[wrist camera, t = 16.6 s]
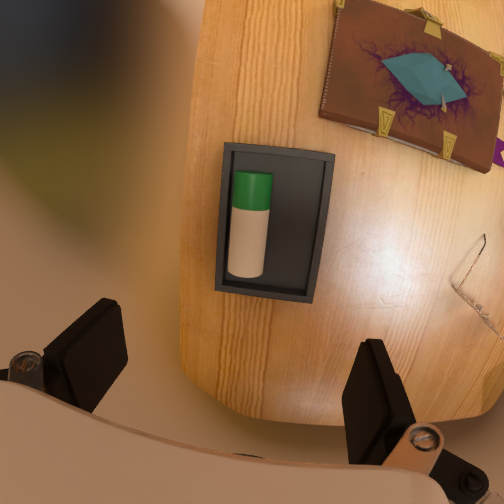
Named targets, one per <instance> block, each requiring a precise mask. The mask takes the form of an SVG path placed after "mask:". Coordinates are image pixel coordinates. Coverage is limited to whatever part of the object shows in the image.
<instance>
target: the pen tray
mask: <svg viewBox="0 0 504 504" xmlns="http://www.w3.org/2000/svg"><path fill="white" fill-rule="evenodd" d="M334 161H335V154H329V153H323V152H316V151H308V150H301V149H293V148H284V147H275V146H265V145H254V144H241V143H227V142H225V143H224V153H223V165H222V178H221V191H220V205H219V221H218V237H217V254H216V273H215V291H221V292H228V293H234V294H241V295H248V296H256V297H263V298H270V299H278V300H286V301H294V302H302V303H310V304H312V301H313V296H314V291H315V286H316V281H317V275H318V270H319V264H320V258H321V252H322V246H323V240H324V234H325V228H326V221H327V214H328V207H329V200H330V193H331V185H332V178H333V170H334ZM236 170H247V171H259V172H266V173H271V174H273V181H272V191H271V200H270V209H269V219H268V229H267V238H266V247H265V256H264V265H263V273H262V274H261V275H260V276H258V277H253V278H244V277H238V276H235V275H233V274H231V273H229V271H228V257H229V243H230V229H231V215H232V203H233V190H234V178H235V171H236Z"/></svg>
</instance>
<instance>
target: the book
mask: <svg viewBox="0 0 504 504" xmlns="http://www.w3.org/2000/svg"><path fill="white" fill-rule="evenodd" d="M333 10H334V16H336V17H335V24H334V30H333V36H332V42H331V48H330V54H329V60H328V66H327V71H326V77H325V82H324V88H323V93H322V98H321V104H320V109H319V117H321V118H325V119H330V120H334V121H338V122H341V123H345V124H344V125H347V124H349V125H347V126H350V127H353V128H355V129H359V130H362V131H366V132H369V133H372V134H371V135H373V136H376V137H385V138H388V139H392V140H395V141H398V142H401V143H404V144H406V145H409V146H412V147H415V148H418V149H420V150H423V151H426V152H428V153H431V155H432V156H434V157H437V158H442V159H446V160H449V161H451V162H453V163H456V164H458V165H462V166H465V167H466V166H468V167H470V168H472V169H474V170H477V171H479V172H481V173H483V174H486V173H488V172H489V171H490V170H491V166H492V161H493V162H494V163H496V164H498V165H500V166H502V167H504V161H503V158H502V156H501V153H500V152H501V151H503V150H504V142H503V141H502V140H500V139H499V138H497V133H498V126H499V119H500V111H501V101H502V89H503V78H504V58H503V57H502V56H500V55H498V54H496V53H493V52H491V51H489V52H487V51H485V50H483V49H482V48H480V47H478V46H476V45H475V44H473V43H471V42H469V41H467V40H466V39H464V38H462V37H460V36H458V35H456V34H454V33H452V32H450V31H448V30H446V29H444V28H442V27H441V26H442V25H443V23H441V22H439V20H438V18H437V17H435V16H433V15H431V14H430V13H428V12H426V11H425V10H424V9H423V7H421V8H418V9H415V10H412V9H405V10H404V11H402V10H399V9H396V8H393V7H390V6H388V5H385V4H382V3H378V2H375V1H372V0H334V2H333ZM427 14H428V15H429V16H427Z"/></svg>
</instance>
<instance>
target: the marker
mask: <svg viewBox="0 0 504 504" xmlns="http://www.w3.org/2000/svg"><path fill="white" fill-rule="evenodd" d="M272 181H273V174H271V173H266V172H259V171H247V170H236V171H235V178H234V190H233V203H232V215H231V229H230V243H229V257H228V271H229V273H231V274H233V275H235V276H238V277H244V278H253V277H258V276H260V275H261V274H262V273H263V265H264V256H265V247H266V238H267V229H268V219H269V209H270V200H271V191H272Z"/></svg>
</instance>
